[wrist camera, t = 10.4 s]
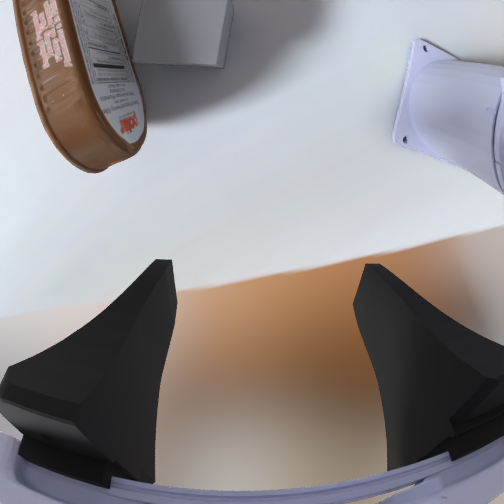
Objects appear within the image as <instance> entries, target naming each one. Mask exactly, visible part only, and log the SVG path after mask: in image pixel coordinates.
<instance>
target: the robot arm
mask: <svg viewBox="0 0 504 504" xmlns="http://www.w3.org/2000/svg"><path fill="white" fill-rule="evenodd" d="M423 46H425V47H426V52H425V51H424V49H423ZM405 136H406V141H405V142H403V138H404V137H405ZM392 141H393V142H394V143H396V144H398V145H401V146H404V147H407V148H410V149H413V150H415V151H418V152H421V153H424V154H427V155H430V156H432V157H435V158H438V159H440V160H443V161H445V162H448V163H451V164H453V165H455V166H458V167H460V168H463V169H465V170H467V171H469V172H470V173H472V174H474V175H475V176H477V177H478V178H480V179H481V180H483V181H484V182H486V183H487V184H489V185H490V186H492V187H493V188H495V189H496V190H498V191H499V192H501V193H502V194H503V195H504V67H503V66H497V65H490V64H483V63H474V62H464V61H460V60H458V59H456V58H455V57H453V56H451V55H449V54H448V53H446V52H444V51H442V50H440V49H438V48H437V47H435V46H433V45H431V44H429V43H427V42H425V41H423V40H421V39H415V40H413V41H412V45H411V51H410V56H409V62H408V67H407V72H406V77H405V82H404V86H403V91H402V95H401V100H400V104H399V108H398V113H397V117H396V121H395V125H394V128H393V132H392ZM353 307H354V311H355V316H356V320H357V324H358V327H359V330H360V333H361V336H362V338H363V341H364V343H365V346H366V349H367V351H368V354H369V357H370V360H371V362H372V365H373V368H374V371H375V374H376V377H377V381H378V385H379V390H380V395H381V400H382V406H383V412H384V419H385V428H386V437H387V463H388V464H387V472H384V473H380V474H376V475H372V476H368V477H364V478H359V479H354V480H349V481H343V482H338V483H332V484H326V485H319V486H311V487H303V488H293V489H281V490H262V491H218V490H199V489H187V488H177V487H169V486H161V485H154V484H153V483H155V436H156V420H157V407H158V398H159V389H160V382H161V377H162V373H163V369H164V365H165V361H166V357H167V353H168V349H169V345H170V341H171V337H172V333H173V329H174V324H175V317H176V309H177V297H176V289H175V281H174V273H173V265H172V260H163V259H156V260H155V261H154V262H153V263H152V264H150V265H149V266H148V268H147V269H146V270H145V271H144V272H143V273H142V274H141V275H140V276H139V277H138V278H137V279H136V280H135V281H134V282H133V283H132V284H131V285H130V286H129V287H128V288H127V289H126V290H125V291H124V292H123V293H122V294H121V295H120V296H119V297H118V298H117V299H116V300H115V301H113V302H112V303H111V304H110V305H109V306H108V307H107V308H106V309H105V310H104V311H102V312H101V313H100V314H99V315H97V316H96V317H95V318H94V319H92V320H91V321H90V322H89V323H87V324H86V325H84V326H83V327H82V328H80V329H79V330H77V331H76V332H74V333H73V334H71V335H70V336H68V337H67V338H65V339H64V340H62V341H60V342H59V343H57V344H56V345H53V346H52V347H50V348H48V349H46V350H44V351H43V352H41V353H39V354H37V355H35V356H33V357H30V358H28V359H26V360H24V361H21V362H19V363H17V364H14V365H12V366H9V367H8V369H7V371H6V373H5V375H4V377H3V379H2V381H1V384H0V413H1V414H2V415H3V416H4V417H5V418H6V419H7V420H8V421H9V422H10V423H11V424H12V425H13V426H14V427H16V428H17V429H18V430H19V431H20V432H21V433H22V434H23V438H22V441H19V440H17V439H16V438H14V437H12V436H10V435H8V434H6V433H4V432H2V431H0V504H343V503H348V502H353V501H358V500H362V499H366V498H370V497H374V496H377V495H382V494H385V493H388V492H392V491H395V490H398V489H401V488H404V487H408V486H411V485H413V484H415V485H414V486H413V487H411V488H409V489H406V490H404V491H401V492H398V493H395V494H394V495H392V496H391V497H389V498H387V499H385V500H383V501H381V502H379V503H376V504H488V503H490V502H491V501H492V500H494V499H495V498H496V497H497V496H499V495H500V494H501V493H503V492H504V346H503V345H500V344H498V343H496V342H494V341H491V340H489V339H487V338H485V337H483V336H481V335H479V334H477V333H475V332H473V331H471V330H470V329H468V328H466V327H464V326H463V325H461V324H459V323H458V322H456V321H455V320H453V319H452V318H450V317H449V316H447V315H446V314H444V313H443V312H441V311H440V310H439V309H437V308H436V307H434V306H433V305H432V304H431V303H429V302H428V301H426V300H425V299H424V298H423V297H421V296H420V295H419V294H418V293H416V292H415V291H414V290H413V289H412V288H410V287H409V286H408V285H406V284H405V283H404V282H403V281H402V280H400V279H399V278H398V277H397V276H395V275H394V274H393V273H392V272H390V271H389V270H388V269H386V268H385V267H383V266H382V265H380V264H365V267H364V271H363V274H362V277H361V280H360V284H359V287H358V290H357V293H356V296H355V299H354V302H353Z"/></svg>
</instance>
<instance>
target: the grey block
mask: <svg viewBox="0 0 504 504" xmlns="http://www.w3.org/2000/svg"><path fill="white" fill-rule="evenodd" d="M233 14H234V7H233V2H232V0H142V4H141V9H140V15H139V20H138V26H137V32H136V38H135V45H134V52H133V60H132V62H139V63H150V64H162V65H188V66H203V67H215V68H224V64H225V58H226V52H227V46H228V41H229V35H230V30H231V24H232V19H233Z"/></svg>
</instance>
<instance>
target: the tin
mask: <svg viewBox="0 0 504 504" xmlns="http://www.w3.org/2000/svg"><path fill="white" fill-rule="evenodd" d="M13 7H14V13H15V20H16V26H17V31H18V37H19V42H20V46H21V51H22V56H23V60H24V64H25V68H26V72H27V76H28V80H29V84H30V87H31V91H32V94H33V98H34V101H35V105H36V108H37V111H38V114H39V116H40V119H41V122H42V124H43V127H44V129H45V131H46V133H47V134H48V136H49V137H50V139H51V141H52V142H53V144H54V145H55V147H56V148H57V149H58V151H59V152H60V153H61V154H62V155H63V156H64V157H65V158H66V159H67V160H68V161H69V162H70V163H71V164H72V165H74V166H75V167H77V168H79V169H80V170H83V171H85V172H87V173H99V172H102V171H104V170H106V169H107V168H108V167H109V166H111V165H114V164H116V163H119V162H121V161H124V160H126V159H128V158H130V157H132V156H134V155H135V154H136V153H137V152H138V151H139V150H140V148H141V146H142V145H143V143H144V141H145V138H146V134H147V120H146V111H145V105H144V100H143V96H142V92H141V89H140V85H139V82H138V79H137V76H136V73H135V69H134V66H133V63H132V59H131V56H130V52H129V49H128V46H127V42H126V39H125V35H124V32H123V29H122V25H121V22H120V18H119V15H118V12H117V8H116V5H115V1H114V0H13Z"/></svg>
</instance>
